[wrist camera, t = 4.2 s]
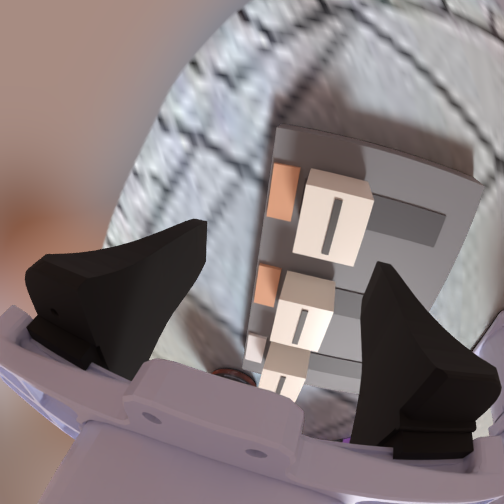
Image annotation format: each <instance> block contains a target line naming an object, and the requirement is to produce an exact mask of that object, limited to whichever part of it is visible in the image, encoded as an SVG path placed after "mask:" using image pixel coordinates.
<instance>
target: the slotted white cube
mask: <svg viewBox="0 0 504 504" xmlns="http://www.w3.org/2000/svg"><path fill="white" fill-rule="evenodd" d="M373 203H374V199H373V195H372V192H371V189H370V186H369V183H368V182H367V181H363V180H359V179H355V178H351V177H347V176H343V175H339V174H335V173H331V172H326V171H322V170H317V169H313V168H311V170H310V173H309V176H308V180H307V183H306V187H305V193H304V198H303V203H302V208H301V213H300V218H299V223H298V228H297V233H296V238H295V243H294V247H293V253H297V254H301V255H305V256H310V257H314V258H318V259H323V260H327V261H331V262H335V263H340V264H344V265H348V266H352V267H353V266H354V263H355V260H356V257H357V254H358V251H359V248H360V245H361V242H362V239H363V236H364V233H365V230H366V227H367V223H368V220H369V217H370V213H371V210H372V206H373Z"/></svg>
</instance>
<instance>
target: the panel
mask: <svg viewBox="0 0 504 504" xmlns="http://www.w3.org/2000/svg"><path fill="white" fill-rule="evenodd" d="M311 168H313V169H317V170H322V171H326V172H331V173H335V174H339V175H343V176H347V177H351V178H355V179H359V180H363V181H367V182H368V183H369V186H370V189H371V192H372V195H373V199H374V203H373V206H372V210H371V213H370V217H369V220H368V223H367V227H366V230H365V233H364V236H363V239H362V242H361V245H360V248H359V251H358V254H357V257H356V260H355V263H354V266H353V267H352V266H348V265H344V264H340V263H335V262H331V261H327V260H323V259H318V258H314V257H310V256H305V255H301V254H297V253H293V247H294V243H295V238H296V233H297V228H298V223H299V218H300V213H301V208H302V203H303V198H304V193H305V187H306V183H307V180H308V176H309V173H310V170H311ZM484 188H485V186H484V185H482V184H481V183H480V182H479V181H478V180H476V179H475V178H474V177H471V176H469V175H467V174H464V173H461V172H459V171H456V170H454V169H451V168H448V167H446V166H443V165H440V164H437V163H434V162H432V161H429V160H426V159H423V158H420V157H417V156H414V155H411V154H407V153H404V152H401V151H398V150H394V149H391V148H387V147H384V146H380V145H377V144H373V143H369V142H366V141H362V140H358V139H354V138H350V137H346V136H341V135H337V134H333V133H328V132H323V131H319V130H314V129H309V128H304V127H298V126H293V125H287V124H281V125H279V126H278V127H276V134H275V142H274V149H273V156H272V163H271V171H270V178H269V185H268V192H267V199H266V206H265V214H264V221H263V228H262V235H261V242H260V249H259V256H258V263H257V269H256V276H255V283H254V290H253V297H252V304H251V311H250V317H249V324H248V331H247V338H246V344H245V351H244V358H243V364H242V369H244V370H248V371H252V372H255V373H259V374H262V371H263V367H264V364H265V360H266V357H267V354H268V350H269V347H270V344H271V341H270V337H271V333H272V329H273V324H274V320H275V315H276V311H277V306H278V302H279V298H280V295H281V291H282V288H283V284H284V281H285V277H286V274H287V271H292V272H296V273H300V274H304V275H309V276H313V277H317V278H321V279H326V280H330V281H334V282H336V283H335V300H334V312H333V315H332V318H331V320H330V323H329V325H328V328H327V330H326V333H325V335H324V338H323V340H322V343H321V345H320V347H319V350H318V352H315V351H311V352H310V358H309V364H308V370H307V375H306V380H305V382H304V384H305V385H310V386H315V387H320V388H325V389H330V390H335V391H341V392H346V393H352V394H358V395H359V391H360V382H361V373H362V350H361V326H360V316H361V303H362V298H363V295H364V293H365V290H366V288H367V285H368V283H369V280H370V278H371V275H372V273H373V270H374V268H375V265H376V262H377V261H380V262H384V263H388V264H391V265H392V266H393V267H394V268H395V270H396V271H397V272H398V274H399V275H400V276H401V278H402V279H403V280H404V282H405V283H406V284H407V286H408V287H409V288H410V290H411V291H412V292H413V294H414V295H415V296H416V298H417V299H418V300H419V301H420V303H421V304H422V305H423V306H424V307H425V309H426V310H427V311H428V312H429V310H430V309H431V307H432V305H433V303H434V302H435V300H436V298H437V296H438V294H439V292H440V290H441V289H442V287H443V285H444V283H445V281H446V279H447V277H448V275H449V273H450V271H451V269H452V267H453V265H454V263H455V260H456V258H457V256H458V254H459V252H460V250H461V247H462V245H463V243H464V241H465V238H466V236H467V233H468V231H469V229H470V226H471V224H472V221H473V219H474V216H475V213H476V211H477V208H478V205H479V203H480V200H481V197H482V194H483V191H484Z"/></svg>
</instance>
